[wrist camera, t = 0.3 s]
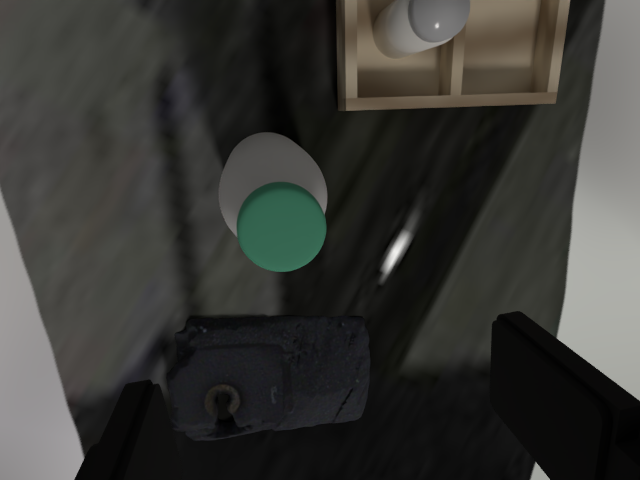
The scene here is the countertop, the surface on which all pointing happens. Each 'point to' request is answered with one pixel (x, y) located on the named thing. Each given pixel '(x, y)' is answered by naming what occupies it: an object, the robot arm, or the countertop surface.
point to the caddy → (455, 58)
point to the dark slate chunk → (268, 374)
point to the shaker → (418, 25)
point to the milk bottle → (274, 201)
